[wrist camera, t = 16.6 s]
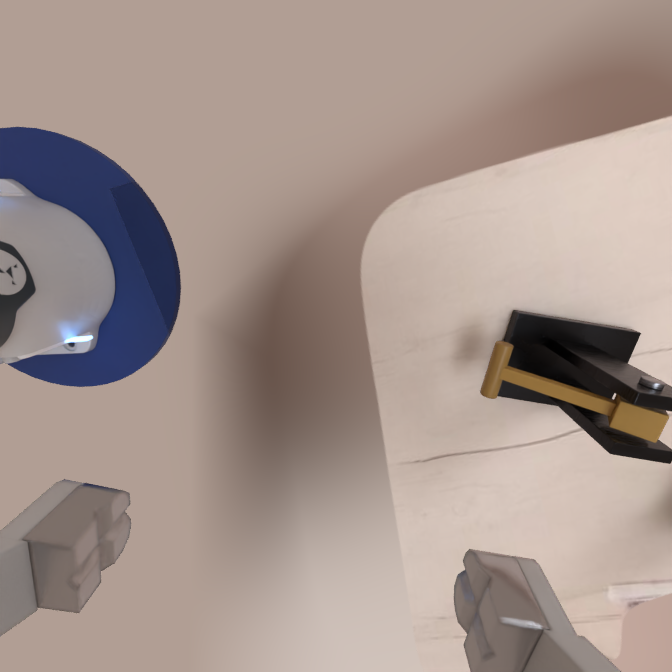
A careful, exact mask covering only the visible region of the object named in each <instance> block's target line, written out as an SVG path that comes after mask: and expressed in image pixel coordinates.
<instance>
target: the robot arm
mask: <svg viewBox="0 0 672 672" xmlns="http://www.w3.org/2000/svg"><path fill="white" fill-rule="evenodd" d="M114 295H115V274H114V269H113V265H112V262H111V259H110V256H109V254H108V252H107V250H106V248H105V246H104V244H103V243H102V241H101V240H100V238H99V237H98V235H97V234H96V233H95V232H94V230H93V229H92V228H91V227H90V226H89V225H88V224H87V223H86V222H85V221H83V220H82V219H81V218H80V217H79V216H77V215H76V214H74V213H73V212H71V211H69V210H68V209H66V208H64V207H62V206H59V205H57V204H54V203H51V202H48V201H45V200H43V199H41V198H39V197H37V196H35V195H34V194H33V193H32V192H31V191H29V190H28V189H27V188H26V187H25V186H23V185H22V184H20V183H19V182H17V181H15V180H13V179H0V364H2V363H6V364H8V363H13V362H17V361H20V360H21V359H25V358H29V357H32V356H34V355H46V354H72V353H85V352H88V351H91V350H93V349H94V348H95V346H96V344H97V339H98V331H99V327H100V324H101V323H102V321H103V320H104V318H105V317H106V315H107V314H108V312H109V310H110V308H111V306H112V303H113V300H114ZM73 342H74V343H75V344H73ZM129 505H130V494H129V493H128V492H126V491H123V490H117V489H113V488H108V487H103V486H98V485H93V484H88V483H81V482H76V481H70V480H65V479H64V480H62V481H59V482H57V483H55V484H54V485H53V486H52V487H51V488H49V489H48V490H47V491H46V492H45V493H44V494H42V495H41V496H40V497H39V498H38V499H37V500H36V501H34V502H33V503H32V504H31V505H30V506H29V507H27V508H26V509H25V510H24V511H23V512H22V513H20V514H19V515H18V516H17V517H16V518H15V519H14V520H12V521H11V522H10V523H9V524H8V525H7V526H5V527H4V528H3V529H2V530H1V531H0V636H1V635H3V634H5V633H6V632H7V631H9V630H10V629H12V628H13V627H14V626H16V625H17V624H19V623H20V622H22V621H23V620H24V619H26V618H27V617H29V616H30V615H31V614H33V613H34V612H36V611H37V607H38V608H45V609H52V610H60V611H67V612H74V613H79V612H80V611H81V610H82V608H83V607H84V605H85V604H86V602H87V601H88V600H89V598H90V597H91V596H92V594H93V593H94V591H95V590H96V589H97V587H98V586H99V584H100V583H101V571H102V570H104V569H106V568H107V567H109V566H111V565H112V564H114V563H115V562H116V560H117V559H118V557H119V556H120V554H121V553H122V551H123V549H124V547H125V544H126V543H127V540H128V538H129V534H130V529H131V519H130V517H129V516H128V515H127V513H126V512H125V510H126V509H127V507H128V506H129ZM463 563H464V566H465V570H464V571H463V572H461V573H460V574H458V576H457V579H456V582H455V585H454V605H455V612H456V616H457V620H458V623H459V624H460V625H461V626H462V628H463V629H464V630H465V631H466V633H467V637H466V639H465V642H464V648H465V652H466V656H467V660H468V663H469V667H470V671H471V672H621V671H620V670H619V669H618V668H617V667H616V666H615V665H614V664H613V663H612V662H610V661H609V660H608V659H607V658H606V657H605V656H604V655H603V654H602V653H601V652H600V651H599V650H598V649H597V648H596V647H595V646H594V645H593V644H592V643H590V642H589V641H588V640H587V639H586V638H585V637H583V636H579V635H577V634H576V632H575V630H574V628H573V627H572V625H571V623H570V621H569V619H568V617H567V615H566V614H565V612H564V610H563V608H562V606H561V604H560V602H559V600H558V599H557V597H556V595H555V593H554V591H553V589H552V587H551V586H550V584H549V582H548V580H547V578H546V576H545V574H544V573H543V571H542V569H541V567H540V565H539V564H538V563H537V562H536V561H535V560H534V559H528V558H522V557H516V556H509V555H504V554H498V553H491V552H485V551H479V550H472V549H469V550H468V551H467V552H466V554H465V556H464V559H463Z"/></svg>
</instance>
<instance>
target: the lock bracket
mask: <svg viewBox="0 0 672 672" xmlns="http://www.w3.org/2000/svg"><path fill="white" fill-rule="evenodd" d="M640 334H641V333H640V332H637V331H635V330H632V329H626V328H620V327H614V326H608V325H602V324H596V323H590V322H584V321H577V320H571V319H565V318H559V317H553V316H547V315H541V314H535V313H529V312H523V311H517V310H514V311H513V314H512V317H511V320H510V323H509V326H508V329H507V332H506V335H505V339H504V342H507V343H510V344H512V345H513V350H512V353H511V356H510V359H509V362H508V365H507V366H510V367H513V368H516V369H519V370H522V371H525V372H528V373H532V374H535V375H538V376H541V377H544V378H547V379H550V380H554V381H557V382H560V383H563V384H566V385H569V386H572V387H575V388H579V389H582V390H585V391H588V392H591V393H594V394H597V395H600V396H604V397H607V398H610V399H612V397H613V395H614V393H616V394H618V395H619V396H621V397H622V398H624V399H625V400H627V401H628V402H630V403H631V404H633V405H637V406H643V407H649V408H655V409H661V410H667V411H672V387H671V386H669V385H667V384H665V383H664V382H663V381H661V380H658V379H656V378H654V377H652V376H650V375H648V374H647V373H645V372H643V371H641V370H639V369H637V368H635V367H633V366H631V365H629V364H628V361H629V359H630V357H631V354H632V352H633V350H634V348H635V345H636V343H637V341H638V339H639V336H640ZM497 396H501V397H507V398H513V399H519V400H525V401H531V402H537V403H543V404H549V405H555V406H559V407H560V408H561V409H562V410H563V411H564V412H565V413H566V414H567V415H568V416H569V417H571V418H572V419H573V420H574V421H575V422H576V423H577V424H578V425H579V426H580V427H581V428H583V429H584V430H585V431H586V432H587V433H588V434H589V435H590V436H591V437H592V438H593V439H594V440H596V441H597V442H598V443H599V444H600V445H601V446H602V447H603V448H604V449H605V450H606V451H608V452H609V453H610V454H614V455H620V456H626V457H632V458H638V459H644V460H650V461H656V462H662V463H668V464H670V463H671V461H672V449H670V448H669V447H668V446H666V445H665V444H664V443H662V442H661V441H659V440H657V442H656V443H654V442H651V441H648V440H646V439H643V438H640V437H637V436H634V435H631V434H628V433H626V432H623V431H620V430H617V429H614V428H611V427H609V422H608V416H607V415H604V414H601V413H598V412H595V411H592V410H590V409H587V408H584V407H581V406H578V405H575V404H572V403H569V402H566V401H563V400H560V399H557V398H554V397H551V396H548V395H545V394H543V393H540V392H537V391H534V390H531V389H528V388H525V387H522V386H519V385H516V384H513V383H510V382H507V381H504V380H502V383H501V386H500V389H499V392H498V395H497Z"/></svg>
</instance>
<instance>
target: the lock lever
mask: <svg viewBox="0 0 672 672" xmlns="http://www.w3.org/2000/svg"><path fill="white" fill-rule="evenodd" d="M512 350H513V345H512V344H510V343H507V342H504V341H496V343H495V346H494V349H493V352H492V356H491V359H490V362H489V365H488V368H487V372H486V375H485V378H484V381H483V384H482V388H481V391H480V393H481V394H482V395H483V396H485V397H487V398H491V399H495V398H497V395H498V392H499V389H500V386H501V383H502V380H504V381H507V382H510V383H513V384H516V385H519V386H522V387H525V388H528V389H531V390H534V391H537V392H540V393H543V394H545V395H548V396H551V397H554V398H557V399H560V400H563V401H566V402H569V403H572V404H575V405H578V406H581V407H584V408H587V409H590V410H592V411H595V412H598V413H601V414H604V415H607V416H608V422H609V427H611V428H614V429H617V430H620V431H623V432H626V433H628V434H631V435H634V436H637V437H640V438H643V439H646V440H648V441H651V442H654V443H656V442H657V440H658V438H659V436H660V434H661V432H662V430H663V429H664V427H665V425H666V423H667V421H668V419H669V415H668V414H667V412H666V410H661V409H655V408H649V407H643V406H637V405H633V404H631V403H630V402H628V401H627V400H625V399H624V398H622V397H621V396H619V395H618V394H616V397H615V399H614V400H613V399H610V398H607V397H604V396H600V395H597V394H594V393H591V392H588V391H585V390H582V389H579V388H575V387H572V386H569V385H566V384H563V383H560V382H557V381H554V380H550V379H547V378H544V377H541V376H538V375H535V374H532V373H528V372H525V371H522V370H519V369H516V368H513V367H510V366H507V365H508V362H509V359H510V356H511V353H512Z"/></svg>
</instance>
